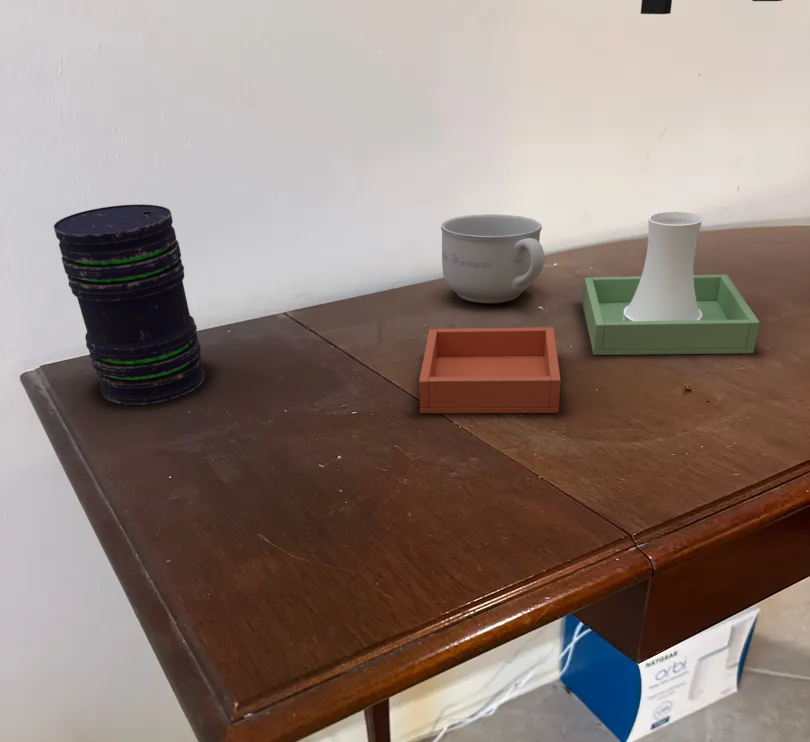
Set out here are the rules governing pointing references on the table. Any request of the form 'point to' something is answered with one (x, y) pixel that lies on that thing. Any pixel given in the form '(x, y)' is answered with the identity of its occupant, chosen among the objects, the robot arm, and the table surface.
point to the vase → (668, 271)
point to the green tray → (714, 334)
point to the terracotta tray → (490, 371)
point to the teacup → (491, 256)
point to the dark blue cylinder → (132, 301)
